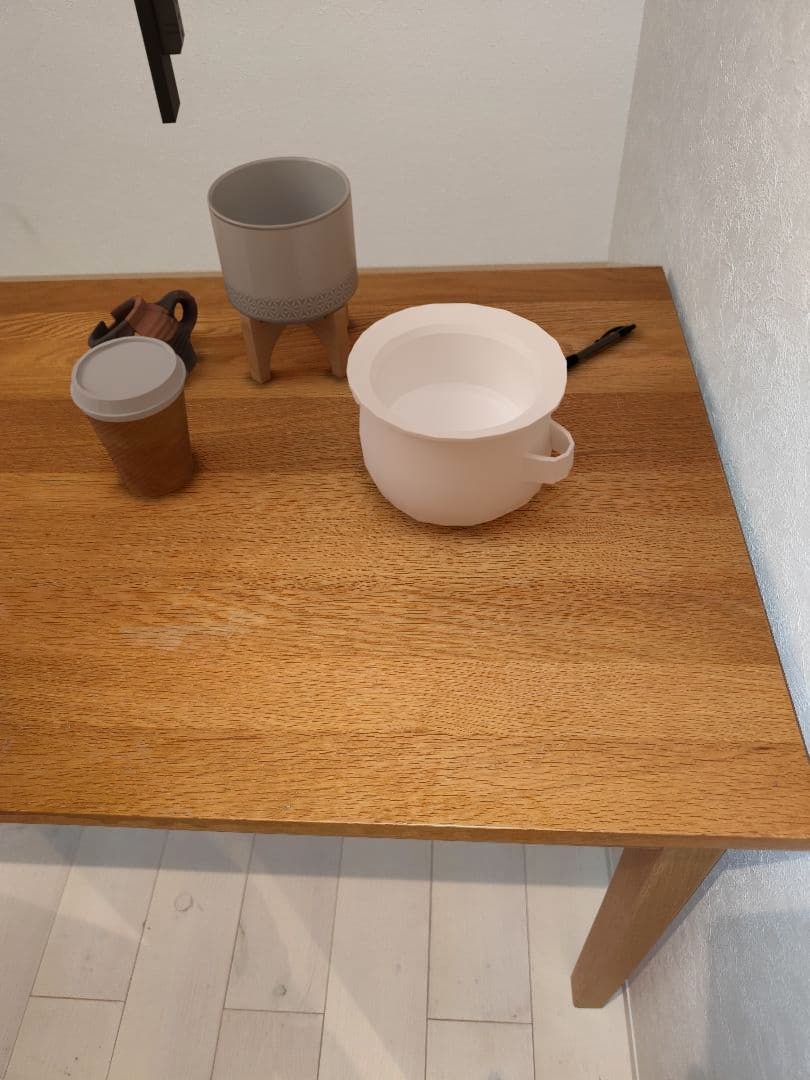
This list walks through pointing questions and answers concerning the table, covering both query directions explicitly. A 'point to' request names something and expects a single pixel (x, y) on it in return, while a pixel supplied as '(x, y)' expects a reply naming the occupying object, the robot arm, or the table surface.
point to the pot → (459, 411)
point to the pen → (600, 343)
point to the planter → (286, 253)
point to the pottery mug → (154, 323)
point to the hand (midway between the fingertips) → (54, 121)
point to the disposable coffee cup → (137, 410)
